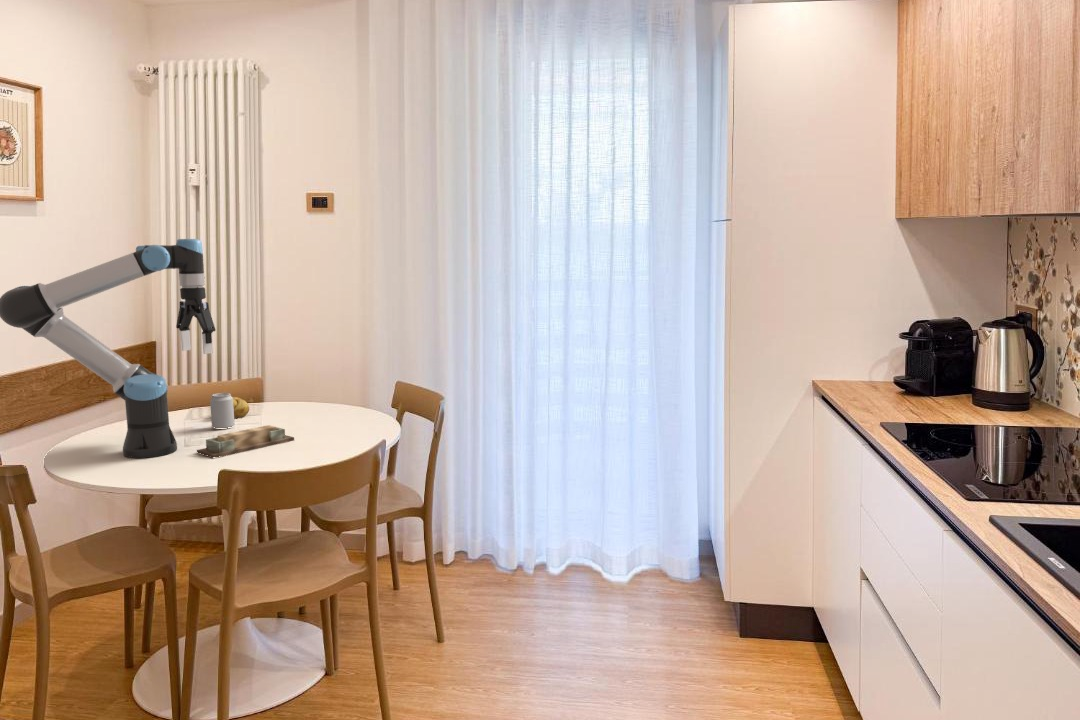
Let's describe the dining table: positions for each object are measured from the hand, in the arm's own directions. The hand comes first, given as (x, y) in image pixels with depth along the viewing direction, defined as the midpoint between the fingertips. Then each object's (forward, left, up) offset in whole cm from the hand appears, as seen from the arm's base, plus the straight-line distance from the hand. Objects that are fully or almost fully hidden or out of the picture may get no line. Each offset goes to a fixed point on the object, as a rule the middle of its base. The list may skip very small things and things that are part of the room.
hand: (197, 352), depth 265 cm
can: (+12, +8, -29) cm, 32 cm away
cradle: (+2, -23, -29) cm, 37 cm away
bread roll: (+26, +23, -29) cm, 45 cm away
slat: (+2, -23, -28) cm, 36 cm away
